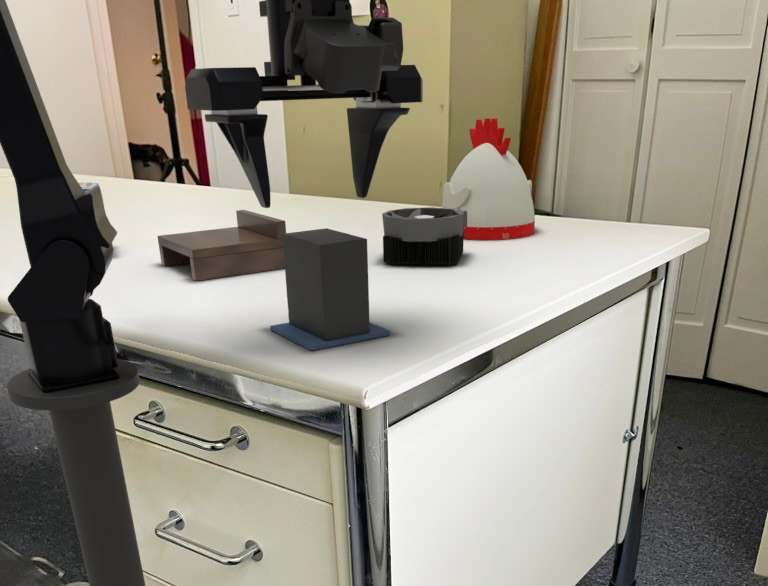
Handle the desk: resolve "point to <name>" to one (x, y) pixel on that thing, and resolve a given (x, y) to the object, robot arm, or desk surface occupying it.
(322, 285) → the dark grey block
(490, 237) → the kitchen timer
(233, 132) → the robot arm
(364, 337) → the rubber mat
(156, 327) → the desk surface
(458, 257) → the cpu cooler
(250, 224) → the desk shelf
